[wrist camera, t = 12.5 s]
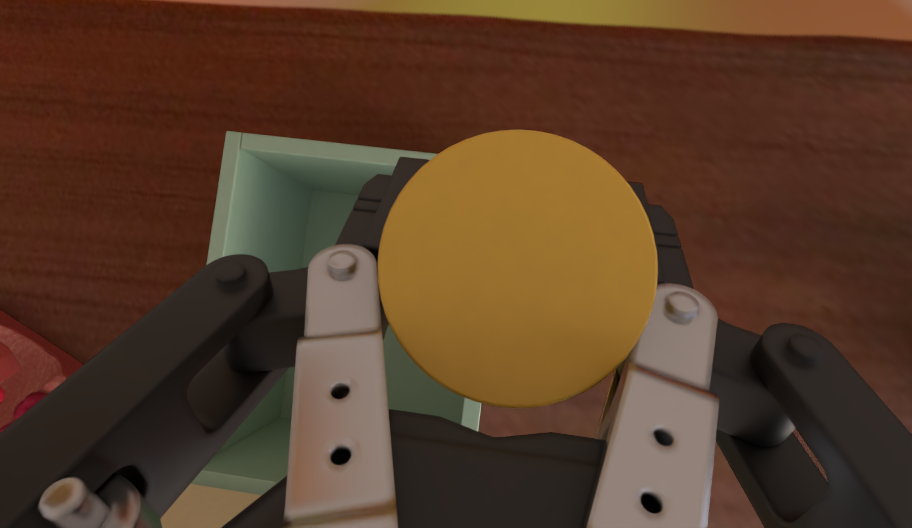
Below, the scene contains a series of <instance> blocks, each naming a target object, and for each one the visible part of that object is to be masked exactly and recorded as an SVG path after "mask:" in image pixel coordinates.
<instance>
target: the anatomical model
mask: <svg viewBox="0 0 912 528" xmlns="http://www.w3.org/2000/svg"><path fill="white" fill-rule="evenodd" d="M82 366H83V364H82V363H80V362H79V361H77V360H76V359H74V358H73V357H71V356H70V355H68V354H67V353H65V352H64V351H62V350H61V349H59V348H58V347H56V346H55V345H53V344H52V343H50V342H49V341H47V340H46V339H44V338H43V337H41V336H40V335H38V334H37V333H35V332H34V331H32V330H31V329H29V328H28V327H26V326H24V325H23V324H21V323H20V322H18V321H17V320H15V319H14V318H12V317H10V316H9V315H7V314H6V313H4V312H3V311H1V310H0V433H1V432H2V431H3V430H4V429H5V428H7V427H8V426H9V425H10V424H12V423H13V422H14V421H15V420H17V419H18V418H19V417H20V416H21V415H23V414H24V413H25V412H26V411H28V410H29V409H30V408H31V407H33V406H34V405H35V404H36V403H37V402H39V401H40V400H41V399H42V398H44V397H45V396H46V395H47V394H49V393H50V392H51V391H52V390H53V389H55V388H56V387H57V386H58V385H60V384H61V383H62V382H63V381H65V380H66V379H67V378H68V377H69V376H71V375H72V374H73V373H74V372H76V371H77V370H78V369H79V368H81V367H82Z"/></svg>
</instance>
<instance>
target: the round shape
mask: <svg viewBox="0 0 912 528" xmlns="http://www.w3.org/2000/svg"><path fill="white" fill-rule="evenodd" d="M657 279H658V260H657V250H656V244H655V239H654V234H653V231H652V228H651V225H650V222H649V219H648V216H647V214H646V212H645V210H644V208H643V206H642V204H641V202H640V200H639V199H638V197H637V196H636V194H635V193H634V191H633V189H632V188H631V186H630V185H629V184H628V183H627V182H626V180H625V179H624V178H623V177H622V176H621V175H620V173H619V172H618V171H617V170H616V169H614V168H613V167H612V166H611V165H610V164H609V163H608V162H607V161H605V160H604V159H603V158H601V157H600V156H598V155H597V154H596V153H594V152H593V151H591V150H590V149H588V148H586V147H584V146H582V145H580V144H578V143H576V142H574V141H572V140H569V139H566V138H563V137H560V136H557V135H554V134H549V133H545V132H540V131H531V130H501V131H495V132H490V133H484V134H481V135H478V136H474V137H471V138H468V139H465V140H463V141H461V142H459V143H457V144H455V145H452V146H450V147H449V148H447V149H445V150H444V151H442V152H441V153H439V154H437V155H436V156H435V157H433V158H432V159H431V160H430V161H428V162H427V163H426V164H425V165H424V166H422V167H421V168H420V169H419V170H418V171H417V172H416V174H415V175H414V176H413V177H412V178H411V179H410V180H409V181H408V183H407V184H406V185H405V187H404V188H403V189H402V191H401V192H400V194H399V195H398V197H397V199H396V201H395V202H394V204H393V206H392V208H391V210H390V212H389V215H388V217H387V220H386V223H385V225H384V228H383V232H382V236H381V240H380V245H379V254H378V284H379V291H380V298H381V301H382V305H383V308H384V312H385V315H386V318H387V320H388V322H389V324H390V327H391V329H392V331H393V333H394V335H395V337H396V338H397V340H398V342H399V343H400V345H401V347H402V348H403V349H404V351H405V352H406V353H407V354H408V356H409V357H410V358H411V359H412V361H413V362H414V363H415V364H416V365H417V366H418V367H419V368H420V369H421V370H422V371H423V372H424V373H425V374H426V375H428V376H429V377H430V378H432V379H433V380H434V381H436V382H437V383H438V384H440V385H441V386H443V387H445V388H446V389H448V390H450V391H452V392H454V393H455V394H457V395H460V396H462V397H465V398H467V399H470V400H472V401H475V402H479V403H483V404H486V405H490V406H496V407H505V408H533V407H539V406H546V405H551V404H554V403H558V402H561V401H564V400H567V399H570V398H572V397H574V396H576V395H579V394H581V393H583V392H585V391H587V390H588V389H590V388H591V387H593V386H595V385H596V384H598V383H600V382H601V381H602V380H603V379H605V378H606V377H607V376H608V375H609V374H611V373H612V372H613V371H614V370H615V369H616V368H617V367H618V366H619V365H620V364H621V363H622V362H623V361H624V360H625V359H626V357H627V356H628V355H629V353H630V352H631V351H632V349H633V348H634V346H635V345H636V344H637V342H638V340H639V338H640V336H641V335H642V333H643V331H644V329H645V327H646V325H647V322H648V319H649V317H650V314H651V311H652V308H653V304H654V299H655V295H656V290H657Z"/></svg>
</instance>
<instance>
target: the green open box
mask: <svg viewBox="0 0 912 528" xmlns="http://www.w3.org/2000/svg"><path fill="white" fill-rule="evenodd" d="M436 155H437V154H434V153H425V152H416V151H407V150H397V149H388V148H379V147H370V146H361V145H351V144H342V143H333V142H324V141H315V140H306V139H296V138H287V137H278V136H269V135H260V134H250V133H241V132H233V131H227V132H226V137H225V144H224V150H223V157H222V164H221V171H220V177H219V184H218V191H217V197H216V204H215V211H214V217H213V224H212V231H211V238H210V244H209V251H208V258H207V264H206V265H208V264H209V263H211V262H212V261H214V260H216V259H219V258H221V257H225V256H229V255H235V254H246V255H252V256H255V257H257V258H259V259H261V260H262V261H263V262H264V263H265V264H266V266H267V268H268V272H269V273H270V272H279V271H288V270H296V269H302V268H306V267H309V263H310V261H311V260H312V258H313V257H314V256H315V255H316V254H317V253H319V252H320V251H322V250H324V249H326V248H328V247H331V246H335V244H336V242H337V240H338V237H339V235H340V233H341V231H342V229H343V227H344V225H345V223H346V221H347V219H348V217H349V215H350V213H351V210H352V211H353V206H354V204H355V202H356V200H358V196H359V194H360V192H361V190H362V188H363V186H364V184H365V183H367V182H368V181H369V180H370V179H372V178H373V177H374V176H376V175H377V174H383V175H392V174H393V171H394V169H395V167H396V164H397V162H398V159H399V158H400V157H410V158H419V159H428V160H429V161H430V160H431V159H432V158H433V157H435V156H436ZM383 350H384V362H385V374H386V386H387V399H388V409H393V410H400V411H407V412H414V413H421V414H428V415H435V416H440V417H443V418H445V419H448V420H450V421H453V422H455V423H458V424H460V425H463V426H465V427H468V428H470V429H473V430H475V431H478V427H479V419H480V411H481V403H479V402H475V401H472V400H470V399H467V398H465V397H462V396H460V395H457V394H455V393H454V392H452V391H450V390H448V389H446V388H445V387H443V386H441V385H440V384H438V383H437V382H436V381H434V380H433V379H432V378H430V377H429V376H428V375H426V374H425V373H424V372H423V371H422V370H421V369H420V368H419V367H418V366H417V365H416V364H415V363H414V362H413V361H412V359H411V358H410V357H409V356H408V354H407V353H406V352H405V351H404V349H403V348H402V347H401V345H400V343H399V342H398V340H397V338H396V337H395V335H394V333H393V331H392V329H391V327H390V325H388V327H387V331H386V334H385V337H384V340H383ZM294 376H295V367H289V368H288V370H287V371H286V372H285V374H284V375H283V376H282V377H281V378H280V379H279V381H278V382H277V383H276V384H275V385H274V386H273V388H272V389H271V390H270V391H269V392H268V393H267V395H266V396H265V397H264V398H263V399H262V400H261V402H260V403H259V404H258V405H257V406H256V407H255V409H254V410H253V411H252V412H251V413H250V414H249V416H248V417H247V418H246V419H245V420H244V421H243V423H242V424H241V425H240V426H239V427H238V429H237V430H236V431H235V432H234V433H233V434H232V436H231V437H230V438H229V439H228V440H227V441H226V443H225V444H224V445H223V446H222V447H221V448H220V450H219V451H218V452H217V453H216V454H215V455H214V457H213V458H212V459H211V460H210V461H209V462H208V464H207V465H206V466H205V467H204V468H203V469H202V471H201V472H200V473H199V474H198V475H197V476H196V478H195V479H194V480H193V481H192V482H191V483H190V484H196V485H202V486H208V487H214V488H220V489H226V490H232V491H238V492H245V493H251V494H257V495H263V494H264V493H265V492H267V491H268V490H269V489H270V488H272V487H273V486H274V485H275V484H277V483H278V482H279V481H280V480H282V479H283V478H284V477H285V476H287V473H288V459H289V445H290V431H291V418H292V404H293V390H294Z"/></svg>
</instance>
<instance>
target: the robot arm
mask: <svg viewBox="0 0 912 528" xmlns="http://www.w3.org/2000/svg"><path fill="white" fill-rule="evenodd" d="M428 161H429V160H428V159H419V158H410V157H400V158H399V159H398V162H397V164H396V167H395V169H394V171H393V174H392V175H383V174H377V175H376V176H374V177H373V178H372V179H370V180H369V181H368V182H367V183H365V184H364V186H363V188H362V190H361V192H360V194H359V196H358V200H356V202H355V204H354V206H353V211H352V210H351V213H350V215H349V217H348V219H347V221H346V223H345V225H344V227H343V229H342V231H341V233H340V235H339V237H338V240H337V242H336V244H335V246H331V247H328V248H326V249H324V250H322V251H320V252H319V253H317V254H316V255H315V256H314V257H313V258H312V260H311V261H310V263H309V267H306V268H302V269H296V270H288V271H279V272H270V273H269V272H268V268H267V266H266V264H265V263H264V262H263V261H262V260H261V259H259V258H257V257H255V256H252V255H246V254H235V255H229V256H225V257H221V258H219V259H216V260H214V261H212V262H211V263H209V264H208V265H206V266H205V267H204V268H202V269H201V270H200V271H199V272H197V273H196V274H195V275H194V276H192V277H191V278H190V279H189V280H188V281H186V282H185V283H184V284H183V285H181V286H180V287H179V288H178V289H176V290H175V291H174V292H173V293H172V294H170V295H169V296H168V297H167V298H165V299H164V300H163V301H162V302H160V303H159V304H158V305H157V306H156V307H154V308H153V309H152V310H151V311H149V312H148V313H147V314H146V315H145V316H143V317H142V318H141V319H140V320H138V321H137V322H136V323H135V324H133V325H132V326H131V327H130V328H129V329H127V330H126V331H125V332H124V333H122V334H121V335H120V336H119V337H117V338H116V339H115V340H114V341H113V342H111V343H110V344H109V345H108V346H106V347H105V348H104V349H103V350H101V351H100V352H99V353H98V354H97V355H95V356H94V357H93V358H92V359H90V360H89V361H88V362H87V363H85V364H84V365H83V366H82V367H81V368H79V369H78V370H77V371H76V372H74V373H73V374H72V375H71V376H69V377H68V378H67V379H66V380H65V381H63V382H62V383H61V384H60V385H58V386H57V387H56V388H55V389H53V390H52V391H51V392H50V393H49V394H47V395H46V396H45V397H44V398H42V399H41V400H40V401H39V402H37V403H36V404H35V405H34V406H33V407H31V408H30V409H29V410H28V411H26V412H25V413H24V414H23V415H21V416H20V417H19V418H18V419H17V420H15V421H14V422H13V423H12V424H10V425H9V426H8V427H7V428H5V429H4V430H3V431H2V432H1V433H0V528H162V524H161V520H160V519H161V517H162V516H163V515H164V514H165V513H166V512H167V510H168V509H169V508H170V507H171V506H172V505H173V503H174V502H175V501H176V500H177V499H178V498H179V496H180V495H181V494H182V493H183V492H184V490H185V489H186V488H187V487H188V486H189V485H190V483H191V482H192V481H193V480H194V479H195V478H196V476H197V475H198V474H199V473H200V472H201V471H202V469H203V468H204V467H205V466H206V465H207V464H208V462H209V461H210V460H211V459H212V458H213V457H214V455H215V454H216V453H217V452H218V451H219V450H220V448H221V447H222V446H223V445H224V444H225V443H226V441H227V440H228V439H229V438H230V437H231V436H232V434H233V433H234V432H235V431H236V430H237V429H238V427H239V426H240V425H241V424H242V423H243V421H244V420H245V419H246V418H247V417H248V416H249V414H250V413H251V412H252V411H253V410H254V409H255V407H256V406H257V405H258V404H259V403H260V402H261V400H262V399H263V398H264V397H265V396H266V395H267V393H268V392H269V391H270V390H271V389H272V388H273V386H274V385H275V384H276V383H277V382H278V381H279V379H280V378H281V377H282V376H283V375H284V374H285V372H286V371H287V370H288V368H289V367H295V376H294V390H293V404H292V418H291V431H290V445H289V459H288V473H287V476H285V477H284V478H283V479H282V480H280V481H279V482H278V483H277V484H275V485H274V486H273V487H272V488H270V489H269V490H268V491H267V492H265V493H264V494H263V495H262V496H260V497H259V498H258V499H256V500H255V501H254V502H253V503H251V504H250V505H249V506H248V507H246V508H245V509H244V510H243V511H241V512H240V513H239V514H238V515H236V516H235V517H234V518H233V519H231V520H230V521H229V522H227V523H226V524H225V525H224V526H222V527H221V528H707V522H708V512H709V501H710V491H711V481H712V471H713V461H714V451H715V440H716V442H717V444H718V446H719V447H720V449H721V451H722V453H723V454H724V456H725V458H726V460H727V461H728V463H729V465H730V467H731V469H732V470H733V472H734V474H735V476H736V477H737V479H738V481H739V483H740V485H741V486H742V488H743V490H744V492H745V493H746V495H747V497H748V499H749V501H750V502H751V504H752V506H753V508H754V509H755V511H756V513H757V515H758V516H759V518H760V520H761V522H762V524H763V525H764V527H765V528H912V434H911V433H910V432H909V431H908V430H907V429H906V428H905V426H904V425H903V424H902V423H901V422H900V421H899V419H898V418H897V417H896V416H895V415H894V414H893V413H892V411H891V410H890V409H889V408H888V407H887V406H886V405H885V403H884V402H883V401H882V400H881V399H880V398H879V397H878V395H877V394H876V393H875V392H874V391H873V390H872V388H871V387H870V386H869V385H868V384H867V383H866V382H865V380H864V379H863V378H862V377H861V376H860V375H859V374H858V372H857V371H856V370H855V369H854V368H853V367H852V366H851V364H850V363H849V362H848V361H847V360H846V359H845V358H844V356H843V355H842V354H841V353H840V352H839V351H838V349H837V348H836V347H835V346H834V345H833V344H832V343H831V342H829V341H828V340H827V339H826V338H824V337H823V336H821V335H820V334H818V333H816V332H815V331H813V330H810V329H808V328H806V327H803V326H800V325H795V324H789V323H779V324H774V325H772V326H770V327H768V328H767V329H766V330H765V331H764V333H763V334H762V336H761V335H758V334H755V333H753V332H750V331H747V330H744V329H741V328H739V327H736V326H733V325H731V324H728V323H726V322H724V321H722V320H720V319H718V315H717V311H716V309H715V307H714V306H713V304H712V303H711V302H710V301H709V300H708V299H707V298H706V297H705V296H704V295H702V294H701V293H699V292H698V291H696V290H694V288H693V285H692V281H691V278H690V274H689V271H688V267H687V264H686V261H685V257H684V254H683V250H682V249H681V243H680V240H679V237H677V236H678V233H677V230H676V226H675V223H674V220H673V219H672V217H671V216H670V215H669V214H668V213H667V212H666V211H665V210H664V209H663V207H662V206H659V205H650V204H647V200H646V196H645V191H644V187H643V184H642V183H637V182H628V181H626V182H627V183H628V184H629V185H630V186H631V188H632V189H633V191H634V193H635V194H636V196H637V197H638V199H639V200H640V202H641V204H642V206H643V208H644V210H645V212H646V214H647V216H648V219H649V222H650V225H651V228H652V231H653V234H654V239H655V244H656V250H657V260H658V279H657V290H656V295H655V299H654V304H653V308H652V311H651V314H650V317H649V319H648V322H647V325H646V327H645V329H644V331H643V333H642V335H641V336H640V338H639V340H638V342H637V344H636V345H635V346H634V348H633V349H632V351H631V352H630V353H629V355H628V356H627V357H626V359H625V360H624V361H623V362H622V363H621V364H620V365H619V366H618V367H617V368H616V369H615V372H614V374H613V377H612V379H611V383H610V386H609V390H608V393H607V397H606V400H605V403H604V407H603V410H602V414H601V417H600V421H599V424H598V427H597V431H596V434H595V438H588V437H581V436H574V435H567V434H560V433H553V432H549V433H538V434H528V435H518V436H507V437H491V436H488V435H485V434H483V433H480V432H478V431H475V430H473V429H470V428H468V427H465V426H463V425H460V424H458V423H455V422H453V421H450V420H448V419H445V418H443V417H440V416H435V415H428V414H421V413H414V412H407V411H400V410H393V409H388V399H387V386H386V374H385V362H384V350H383V340H384V337H385V334H386V331H387V327H388V325H390V324H389V322H388V320H387V318H386V315H385V312H384V308H383V305H382V301H381V298H380V291H379V284H378V254H379V245H380V240H381V236H382V232H383V228H384V225H385V223H386V220H387V217H388V215H389V212H390V210H391V208H392V206H393V204H394V202H395V201H396V199H397V197H398V195H399V194H400V192H401V191H402V189H403V188H404V187H405V185H406V184H407V183H408V181H409V180H410V179H411V178H412V177H413V176H414V175H415V174H416V172H417V171H418V170H419V169H420V168H421V167H422V166H424V165H425V164H426V163H427V162H428ZM795 428H796V429H797V431H798V432H799V434H800V435H801V436H802V438H803V439H804V441H805V442H806V444H807V445H808V446H809V448H810V449H811V451H812V452H813V454H814V455H815V457H816V458H817V459H818V461H819V462H820V464H821V465H822V467H823V469H824V471H825V473H826V476H827V479H828V482H827V481H826V479H825V478H824V477H823V475H822V474H821V472H820V471H819V469H818V468H817V466H816V465H815V464H814V462H813V461H812V459H811V458H810V456H809V455H808V453H807V452H806V451H805V449H804V448H803V446H802V445H801V443H800V442H799V440H798V439H797V437H796V436H795V435H794V433H793V432H792V431H793V430H794V429H795Z"/></svg>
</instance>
